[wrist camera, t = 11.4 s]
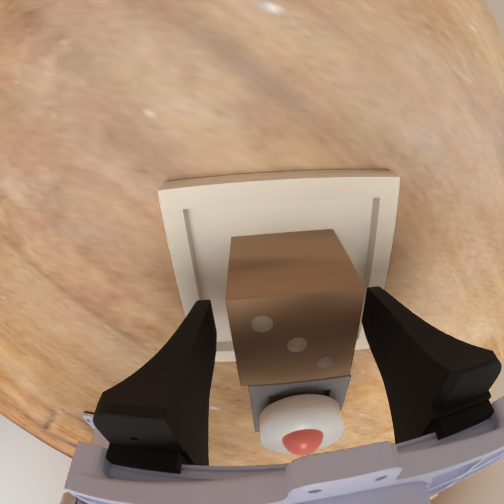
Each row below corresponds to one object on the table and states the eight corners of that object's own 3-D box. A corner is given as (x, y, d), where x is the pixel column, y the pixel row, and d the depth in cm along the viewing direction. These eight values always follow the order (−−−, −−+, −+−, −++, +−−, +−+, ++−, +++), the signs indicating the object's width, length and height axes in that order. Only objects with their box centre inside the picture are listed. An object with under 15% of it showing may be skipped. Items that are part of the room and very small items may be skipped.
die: (328, 307, 17) (349, 375, 13) (241, 315, 17) (240, 386, 13) (332, 228, 15) (366, 288, 10) (231, 236, 15) (225, 301, 10)
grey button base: (333, 408, 24) (337, 423, 22) (254, 416, 24) (255, 431, 22) (345, 359, 20) (350, 376, 19) (248, 368, 20) (248, 386, 19)
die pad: (364, 333, 19) (370, 347, 18) (200, 346, 19) (198, 362, 18) (388, 169, 14) (400, 176, 13) (165, 181, 14) (157, 190, 13)
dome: (330, 412, 23) (340, 461, 19) (260, 419, 23) (262, 470, 19) (340, 370, 20) (355, 428, 16) (256, 379, 20) (258, 440, 16)
